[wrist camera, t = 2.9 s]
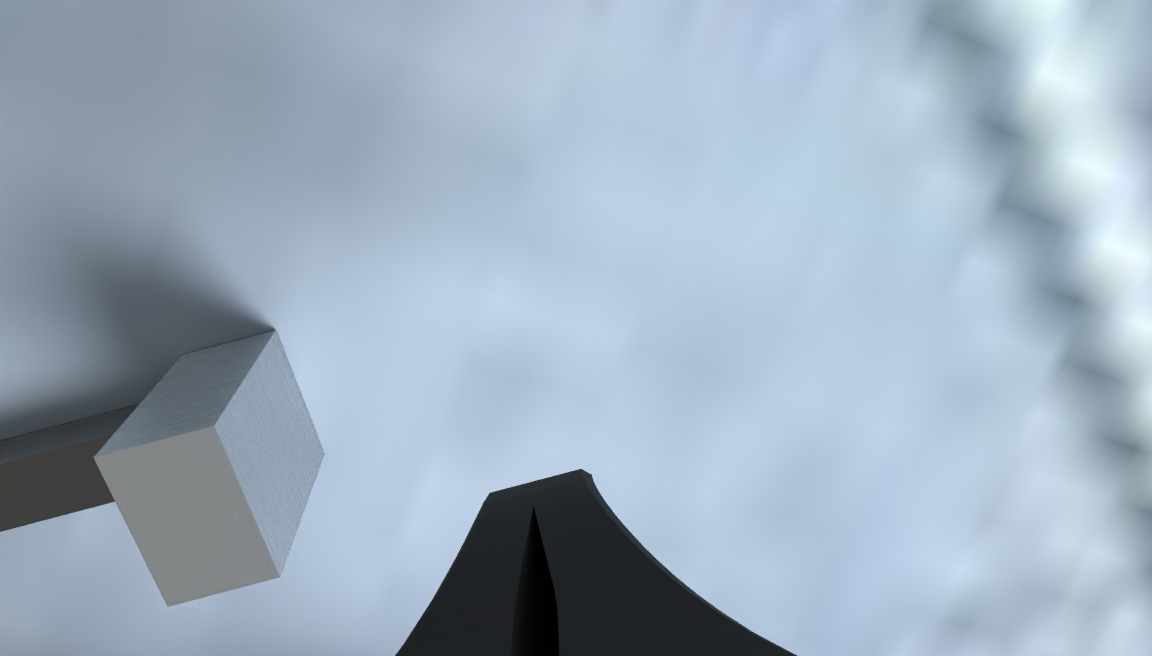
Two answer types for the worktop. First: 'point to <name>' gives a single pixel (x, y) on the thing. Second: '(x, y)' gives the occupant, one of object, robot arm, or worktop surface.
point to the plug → (184, 469)
